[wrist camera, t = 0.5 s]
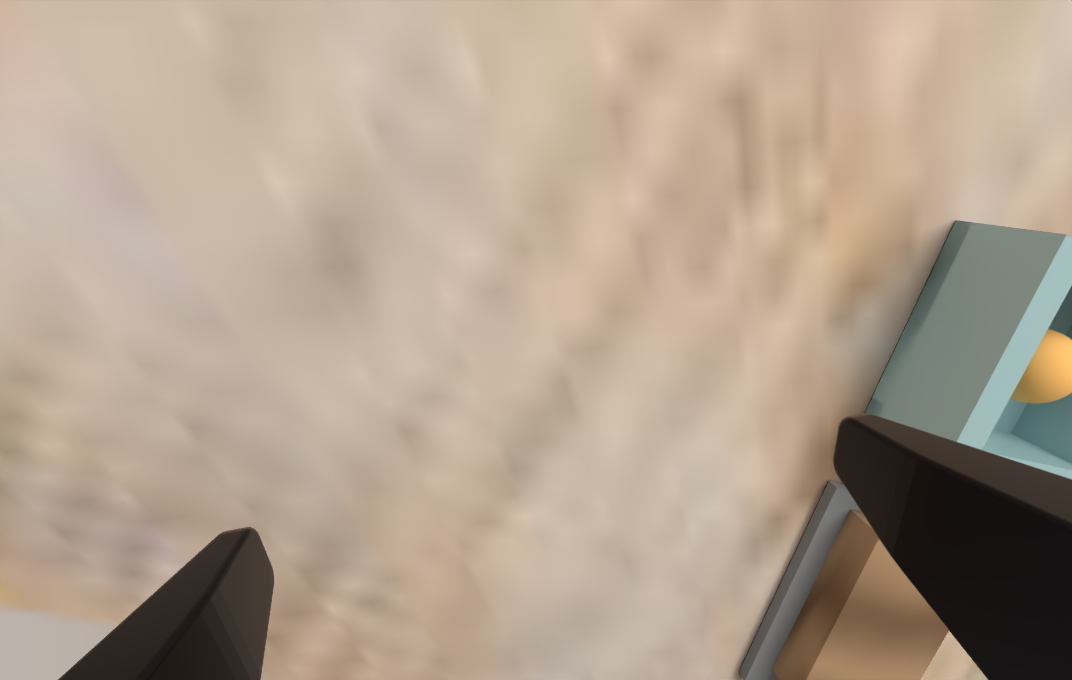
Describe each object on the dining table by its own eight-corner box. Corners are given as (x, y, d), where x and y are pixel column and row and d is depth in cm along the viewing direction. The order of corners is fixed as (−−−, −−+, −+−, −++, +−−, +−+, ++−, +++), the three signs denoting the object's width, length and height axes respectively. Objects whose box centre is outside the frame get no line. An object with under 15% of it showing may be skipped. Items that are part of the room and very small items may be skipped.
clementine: (1007, 391, 26) (1081, 423, 23) (952, 378, 25) (1020, 408, 22) (1042, 326, 25) (1124, 350, 22) (986, 310, 24) (1062, 333, 21)
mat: (876, 684, 32) (884, 693, 31) (739, 671, 30) (744, 681, 29) (975, 507, 29) (986, 514, 28) (828, 480, 27) (837, 487, 26)
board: (873, 678, 31) (900, 712, 29) (772, 668, 29) (793, 703, 28) (957, 527, 28) (993, 554, 26) (850, 509, 27) (880, 535, 25)
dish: (1003, 453, 28) (1101, 506, 24) (860, 422, 26) (939, 474, 22) (1106, 268, 25) (1237, 291, 21) (955, 220, 23) (1066, 234, 19)
